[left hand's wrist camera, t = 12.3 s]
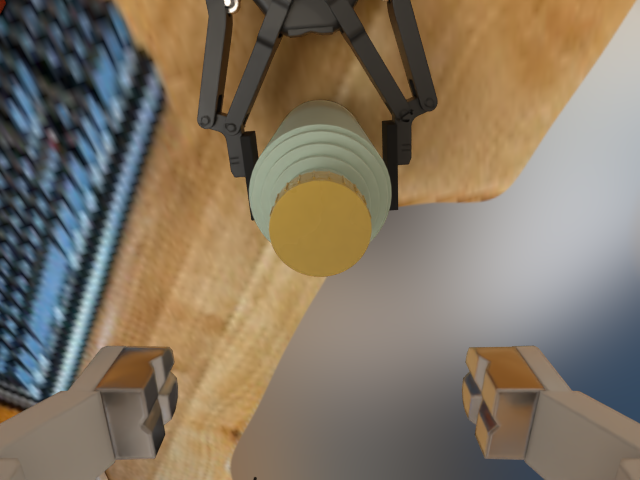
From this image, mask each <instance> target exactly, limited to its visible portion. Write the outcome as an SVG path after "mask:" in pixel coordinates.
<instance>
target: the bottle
mask: <svg viewBox="0 0 640 480" xmlns="http://www.w3.org/2000/svg"><path fill="white" fill-rule="evenodd" d="M314 170H315V171H326V172H328V171H330V172H332V173H335V174H338V175H340V176H342V175H343V176H344V177H345V178H346V179H348V180H349V181H351V182H352V183H353V184H356V187H357V188H358V189H359V191H360V192H361V194H362V196H363V195H364V197H365V200H366V203H367V205H366V206H367V208H368V209H369V212H370V215H371V218H372V219H371V225H372V233H371V238H370V242H371V241H372V240H373V239H374V238H375V237H376V235H377V234H378V233H379V231H380V230H381V228H382V226H383V225H384V223H385V221H386V218H387V216H388V213H389V209H390V205H391V182H390V177H389V174H388V170H387V168H386V166H385V163H384V161H383V160H382V158H381V156H380V155H379V153H378V152H377V150H376V149H375V147H374V146H373V144H372V143H371V141H370V140H369V138H368V137H367V135H366V134H365V132H364V131H363V129H362V128H361V126H360V125H359V123H358V122H357V120H356V119H355V117H354V116H353V115H352V114H351V113H350V112H349V111H348V110H347V109H346V108H344V107H343V106H341V105H339V104H337V103H335V102H332V101H328V100H313V101H308V102H305V103H303V104H301V105H299V106H297V107H296V108H294V109H293V110H292V111H291V112H290V113H289V114H288V115H287V116H286V118H285V119H284V121H283V122H282V124H281V125H280V127H279V128H278V130H277V131H276V133H275V134H274V136H273V137H272V139H271V140H270V142H269V143H268V145H267V146H266V148H265V149H264V151H263V152H262V154H261V156H260V157H259V159H258V160H257V162H256V164H255V167H254V169H253V172H252V175H251V179H250V186H249V201H250V207H251V211H252V214H253V217H254V219H255V222H256V224H257V226H258V227H259V229H260V231H261V232H262V233H263V235H264V236H265V237H266V238H267V239H268V240H269V241H270V242H271V240H270V235H269V222H270V217H271V216H270V212H271V209H272V206H274V204H275V200H276V197H277V194H278V193H280V192H281V190H282V189H283V188H284V187H285V186H286V183H287V182H288V183H289V182H290V181H291V180H293V179H294V178H296V177H298V176H299V175H302V174H305V173H309V172H313V171H314ZM370 242H369V243H370Z"/></svg>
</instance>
